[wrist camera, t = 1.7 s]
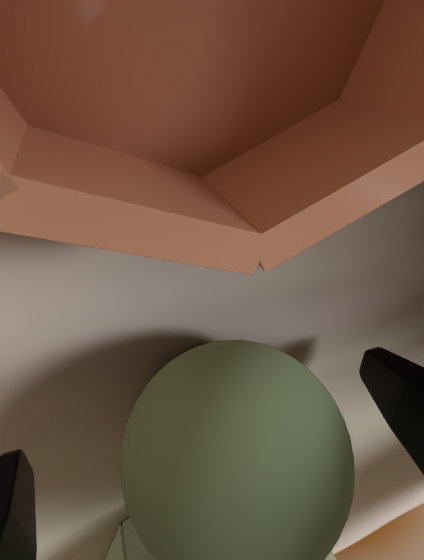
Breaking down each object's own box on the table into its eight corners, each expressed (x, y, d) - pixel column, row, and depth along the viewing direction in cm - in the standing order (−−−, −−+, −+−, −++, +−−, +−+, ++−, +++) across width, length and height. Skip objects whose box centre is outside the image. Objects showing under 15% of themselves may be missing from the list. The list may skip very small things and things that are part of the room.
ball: (250, 262, 9) (404, 445, 5) (300, 376, 12) (420, 545, 8) (66, 369, 9) (71, 646, 5) (164, 456, 12) (217, 668, 8)
